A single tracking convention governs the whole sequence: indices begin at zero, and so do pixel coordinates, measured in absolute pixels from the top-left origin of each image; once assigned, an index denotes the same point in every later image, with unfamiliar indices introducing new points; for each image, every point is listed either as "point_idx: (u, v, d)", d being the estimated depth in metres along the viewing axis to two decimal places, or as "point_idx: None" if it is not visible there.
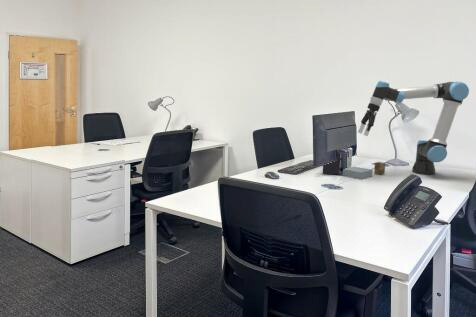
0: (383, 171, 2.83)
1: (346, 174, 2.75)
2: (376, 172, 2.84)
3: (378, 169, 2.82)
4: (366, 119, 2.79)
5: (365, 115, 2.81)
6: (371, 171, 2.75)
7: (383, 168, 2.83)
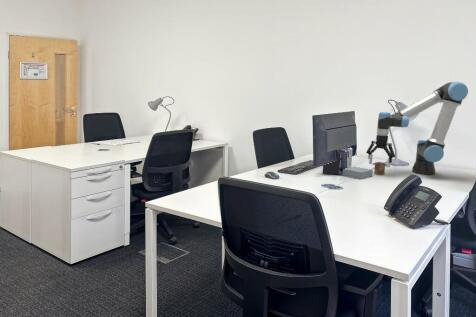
0: (383, 171, 2.83)
1: (346, 174, 2.75)
2: (376, 172, 2.84)
3: (378, 169, 2.82)
4: (374, 150, 2.85)
5: (371, 146, 2.86)
6: (371, 171, 2.75)
7: (383, 168, 2.83)
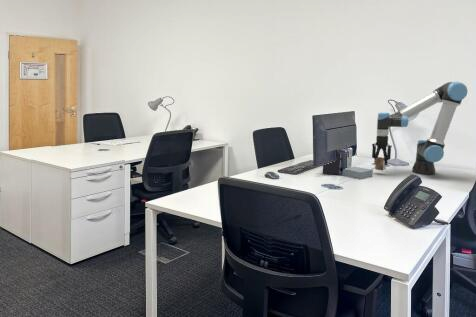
0: None
1: (346, 174, 2.76)
2: (377, 167, 2.83)
3: (379, 164, 2.81)
4: (378, 152, 2.84)
5: (374, 149, 2.85)
6: (371, 171, 2.75)
7: None
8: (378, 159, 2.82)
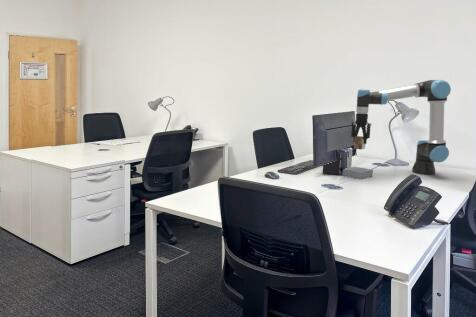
0: None
1: (346, 174, 2.76)
2: (356, 146, 2.73)
3: (358, 143, 2.71)
4: (357, 131, 2.74)
5: (353, 127, 2.75)
6: (371, 171, 2.75)
7: None
8: (357, 138, 2.71)
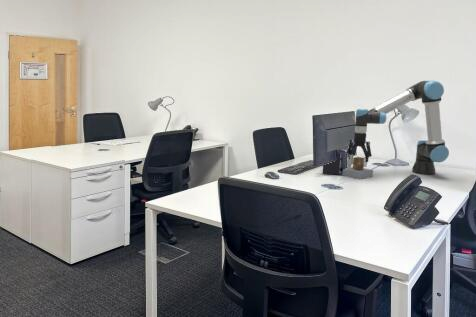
0: (362, 166, 2.75)
1: (346, 174, 2.76)
2: (355, 167, 2.75)
3: (357, 164, 2.74)
4: (354, 149, 2.77)
5: (350, 145, 2.77)
6: (371, 171, 2.75)
7: (362, 163, 2.74)
8: (355, 159, 2.74)
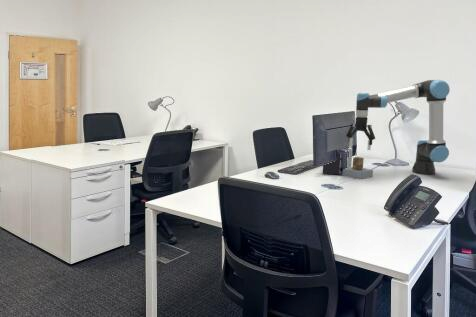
0: (361, 166, 2.75)
1: (346, 174, 2.76)
2: (354, 167, 2.75)
3: (357, 164, 2.73)
4: (354, 132, 2.75)
5: (351, 129, 2.76)
6: (371, 171, 2.75)
7: (361, 163, 2.74)
8: (355, 159, 2.74)
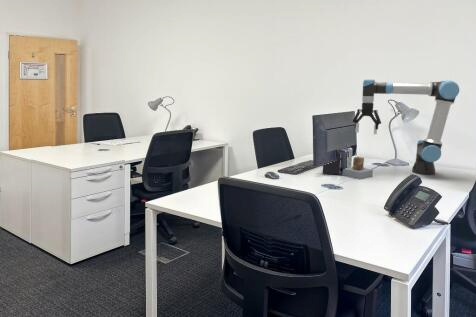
0: (362, 166, 2.75)
1: (346, 174, 2.76)
2: (355, 167, 2.75)
3: (357, 164, 2.73)
4: (361, 118, 2.86)
5: (357, 114, 2.87)
6: (371, 171, 2.75)
7: (362, 163, 2.74)
8: (356, 159, 2.73)
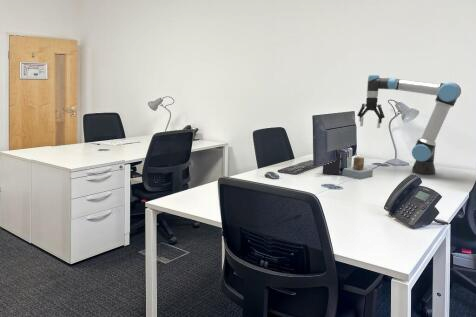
0: (362, 166, 2.75)
1: (346, 174, 2.76)
2: (355, 167, 2.75)
3: (358, 164, 2.73)
4: (365, 112, 2.98)
5: (362, 109, 2.98)
6: (371, 171, 2.75)
7: (362, 163, 2.75)
8: (356, 159, 2.74)
